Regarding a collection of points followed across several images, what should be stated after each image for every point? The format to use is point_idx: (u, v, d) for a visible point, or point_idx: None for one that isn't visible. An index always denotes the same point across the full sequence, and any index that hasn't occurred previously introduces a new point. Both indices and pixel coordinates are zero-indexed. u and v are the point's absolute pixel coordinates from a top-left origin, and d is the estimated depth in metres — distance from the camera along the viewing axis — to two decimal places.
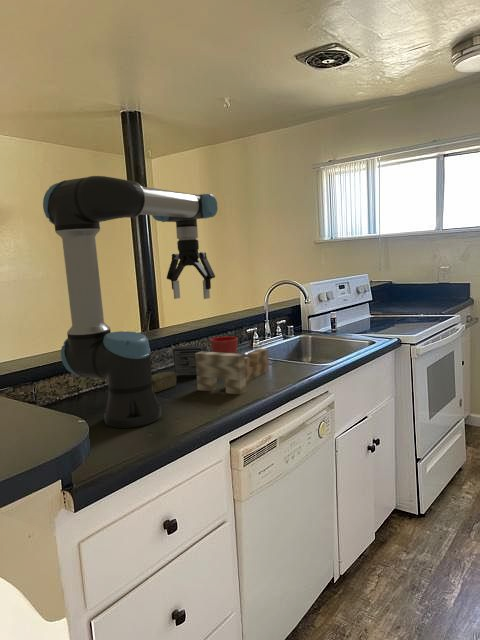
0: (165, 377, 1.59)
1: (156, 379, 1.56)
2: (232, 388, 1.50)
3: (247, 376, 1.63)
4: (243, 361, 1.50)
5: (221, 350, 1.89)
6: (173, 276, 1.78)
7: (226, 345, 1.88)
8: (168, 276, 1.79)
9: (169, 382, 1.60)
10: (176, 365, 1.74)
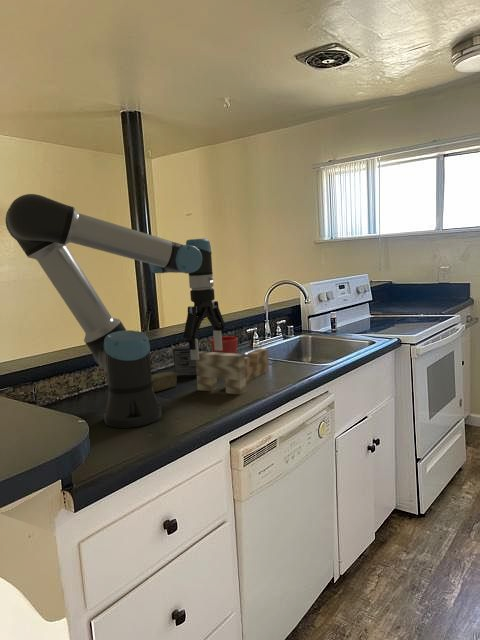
0: (164, 377, 1.58)
1: (154, 379, 1.56)
2: (232, 388, 1.50)
3: (247, 376, 1.63)
4: (243, 361, 1.50)
5: None
6: None
7: (226, 345, 1.88)
8: None
9: (168, 382, 1.60)
10: (176, 365, 1.74)
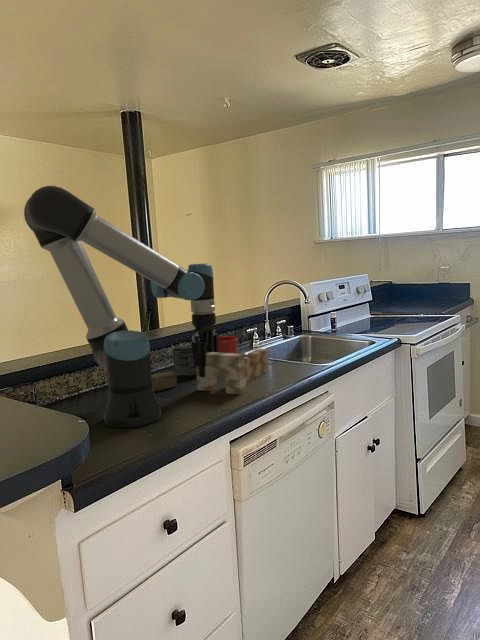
0: (162, 377, 1.58)
1: None
2: (232, 388, 1.50)
3: (247, 376, 1.63)
4: (243, 361, 1.50)
5: (221, 350, 1.89)
6: None
7: (226, 345, 1.88)
8: None
9: (167, 382, 1.59)
10: (176, 365, 1.74)
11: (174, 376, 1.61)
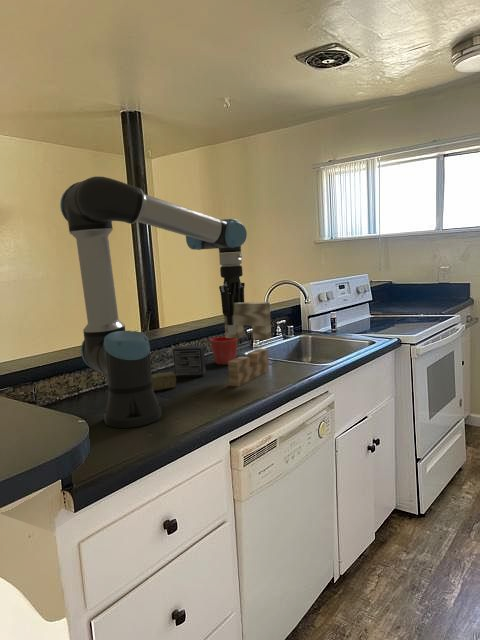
0: (160, 378, 1.58)
1: None
2: (258, 334, 1.62)
3: (247, 376, 1.63)
4: (269, 309, 1.62)
5: (221, 350, 1.89)
6: None
7: (226, 345, 1.88)
8: None
9: (166, 383, 1.59)
10: (176, 365, 1.74)
11: (173, 377, 1.60)
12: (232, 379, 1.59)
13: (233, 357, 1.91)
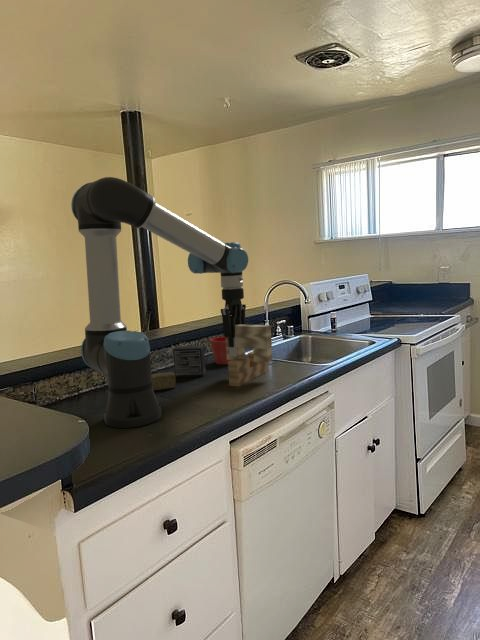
0: (159, 378, 1.58)
1: None
2: (259, 357, 1.63)
3: (247, 376, 1.63)
4: (270, 332, 1.63)
5: (221, 350, 1.89)
6: None
7: None
8: None
9: (165, 383, 1.59)
10: (176, 365, 1.74)
11: (172, 377, 1.59)
12: (232, 379, 1.59)
13: None
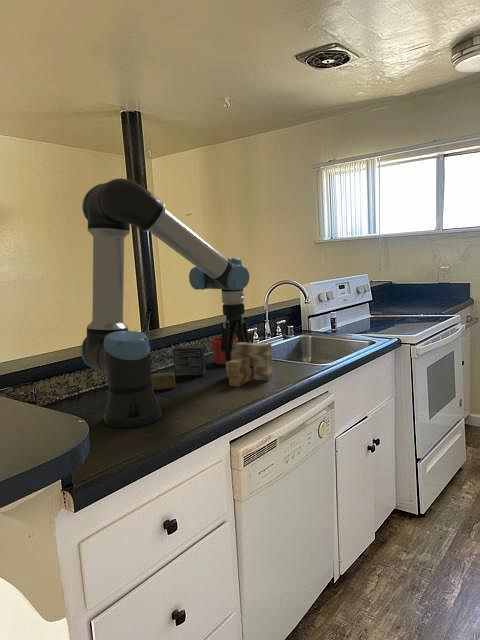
0: (158, 378, 1.58)
1: None
2: (260, 375, 1.64)
3: (247, 376, 1.63)
4: (270, 350, 1.64)
5: None
6: None
7: None
8: None
9: (163, 383, 1.59)
10: (176, 365, 1.74)
11: (171, 377, 1.59)
12: (232, 379, 1.59)
13: None
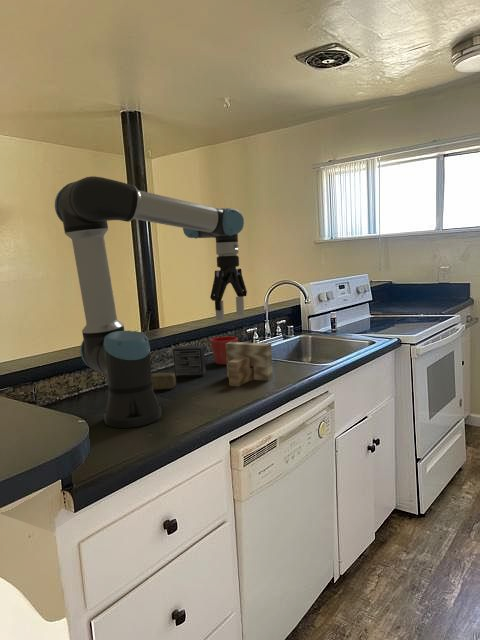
0: (157, 377, 1.59)
1: None
2: (260, 375, 1.64)
3: (247, 376, 1.63)
4: (270, 350, 1.64)
5: (221, 350, 1.89)
6: None
7: None
8: None
9: (162, 383, 1.59)
10: (176, 365, 1.74)
11: (169, 378, 1.58)
12: (232, 379, 1.59)
13: None
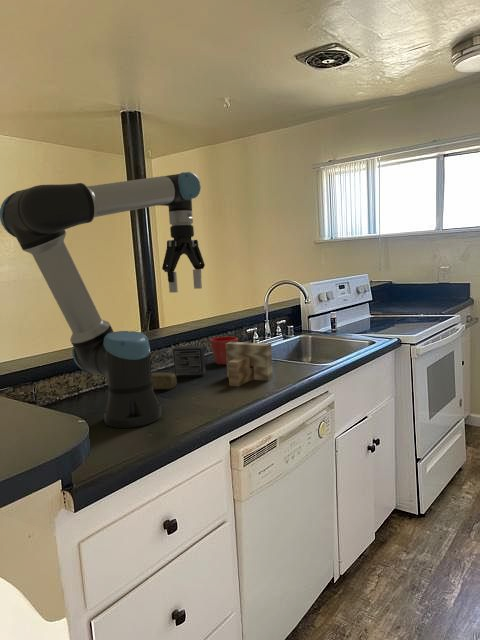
0: (155, 377, 1.59)
1: None
2: (260, 375, 1.64)
3: (247, 376, 1.63)
4: (270, 350, 1.64)
5: (221, 350, 1.89)
6: None
7: None
8: None
9: (160, 383, 1.59)
10: (176, 365, 1.74)
11: (167, 378, 1.58)
12: (232, 379, 1.59)
13: None
